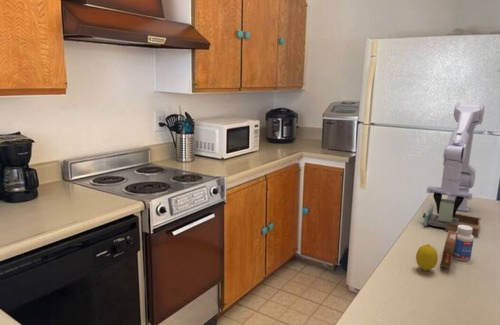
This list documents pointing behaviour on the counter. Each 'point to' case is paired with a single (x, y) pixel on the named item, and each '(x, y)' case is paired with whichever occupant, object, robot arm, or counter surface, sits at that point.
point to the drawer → (436, 219)
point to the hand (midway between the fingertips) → (446, 214)
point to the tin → (449, 249)
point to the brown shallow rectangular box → (465, 220)
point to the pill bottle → (463, 243)
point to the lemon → (426, 257)
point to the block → (446, 210)
